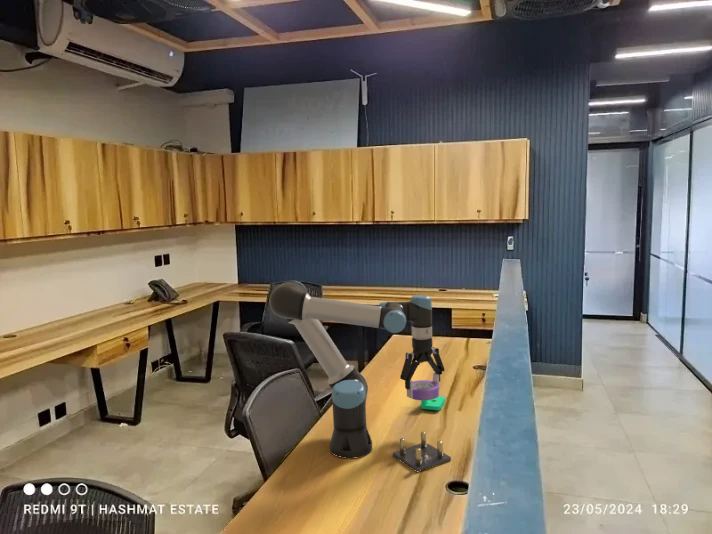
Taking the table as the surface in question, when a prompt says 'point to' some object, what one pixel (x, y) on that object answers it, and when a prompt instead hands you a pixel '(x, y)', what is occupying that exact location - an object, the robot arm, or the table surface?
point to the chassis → (421, 454)
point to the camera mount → (433, 403)
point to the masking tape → (425, 390)
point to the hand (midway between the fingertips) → (423, 393)
